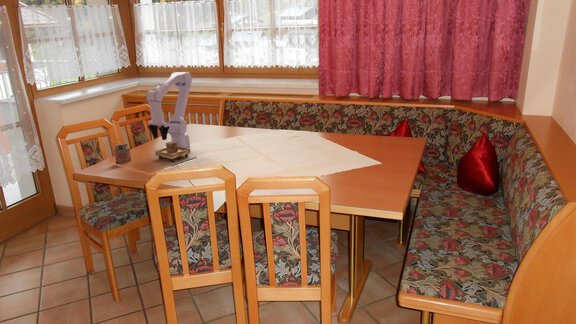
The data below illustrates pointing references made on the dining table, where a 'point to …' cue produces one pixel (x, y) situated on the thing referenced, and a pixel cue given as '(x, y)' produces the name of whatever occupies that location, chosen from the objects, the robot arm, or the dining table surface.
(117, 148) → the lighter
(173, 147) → the block
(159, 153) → the tray
